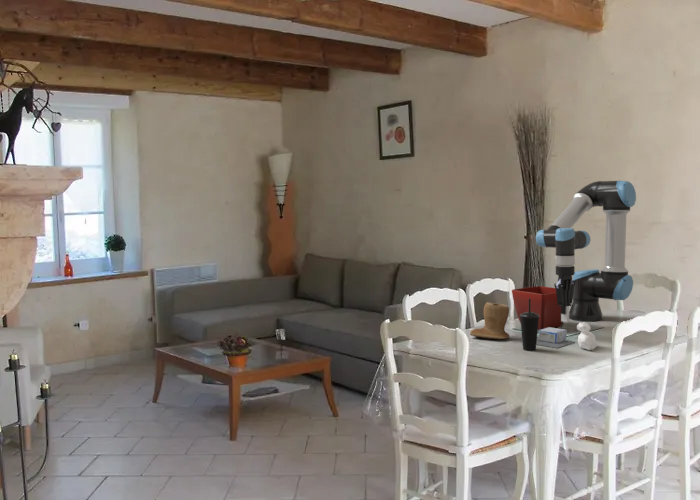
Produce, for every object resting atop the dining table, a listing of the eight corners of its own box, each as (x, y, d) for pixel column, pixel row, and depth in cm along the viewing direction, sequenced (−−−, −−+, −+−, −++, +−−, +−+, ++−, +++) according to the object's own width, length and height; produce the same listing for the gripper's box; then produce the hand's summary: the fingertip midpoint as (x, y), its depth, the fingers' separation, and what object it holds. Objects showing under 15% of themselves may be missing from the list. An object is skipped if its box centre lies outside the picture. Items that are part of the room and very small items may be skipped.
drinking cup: (520, 351, 266) (520, 300, 264) (518, 347, 274) (518, 297, 272) (540, 351, 265) (541, 300, 263) (538, 347, 273) (538, 297, 271)
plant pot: (539, 320, 324) (539, 285, 322) (572, 327, 308) (572, 290, 307) (510, 326, 314) (510, 289, 312) (543, 333, 298) (543, 294, 296)
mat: (539, 336, 290) (539, 336, 290) (574, 342, 279) (574, 341, 279) (522, 342, 282) (522, 341, 282) (557, 348, 270) (557, 347, 270)
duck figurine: (589, 350, 275) (571, 326, 278) (605, 340, 272) (587, 316, 274) (583, 357, 265) (564, 332, 267) (599, 346, 261) (580, 322, 264)
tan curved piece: (513, 336, 292) (513, 301, 291) (503, 342, 282) (503, 306, 281) (480, 333, 300) (480, 299, 299) (469, 338, 290) (469, 303, 289)
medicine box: (549, 337, 288) (538, 340, 282) (549, 326, 288) (538, 330, 282) (566, 339, 282) (555, 343, 276) (566, 329, 282) (555, 332, 276)
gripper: (565, 263, 293) (565, 317, 295) (548, 266, 284) (548, 322, 287) (581, 264, 287) (581, 320, 290) (564, 267, 279) (564, 325, 281)
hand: (564, 321), depth 288 cm, fingers closed
